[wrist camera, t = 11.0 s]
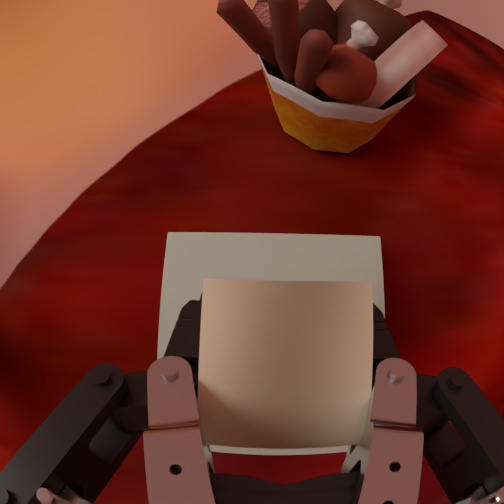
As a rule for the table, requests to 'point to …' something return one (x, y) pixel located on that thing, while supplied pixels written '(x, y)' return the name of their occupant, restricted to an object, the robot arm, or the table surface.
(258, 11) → the bucket of meat
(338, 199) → the table surface
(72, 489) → the robot arm
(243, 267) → the base board
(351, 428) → the birch block
